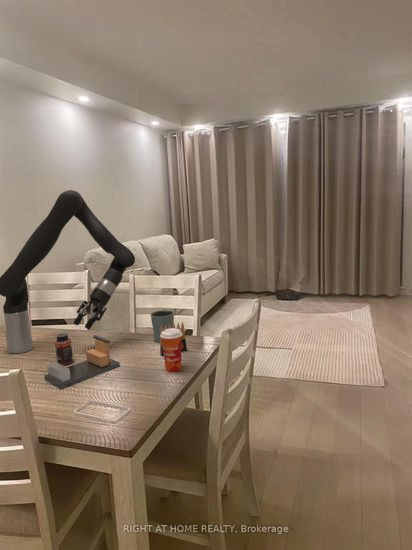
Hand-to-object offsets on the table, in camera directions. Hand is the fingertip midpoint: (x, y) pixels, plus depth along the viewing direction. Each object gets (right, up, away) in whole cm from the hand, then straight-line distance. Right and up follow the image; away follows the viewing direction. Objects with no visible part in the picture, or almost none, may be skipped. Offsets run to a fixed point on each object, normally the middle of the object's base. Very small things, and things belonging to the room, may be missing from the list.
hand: (81, 326), depth 157 cm
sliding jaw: (+10, -12, -9) cm, 18 cm away
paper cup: (+38, -14, -14) cm, 42 cm away
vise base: (+5, -15, -13) cm, 21 cm away
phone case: (+19, -20, -41) cm, 50 cm away
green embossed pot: (+31, -8, +17) cm, 36 cm away
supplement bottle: (-5, -14, -3) cm, 15 cm away
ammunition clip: (+36, -11, +1) cm, 38 cm away
